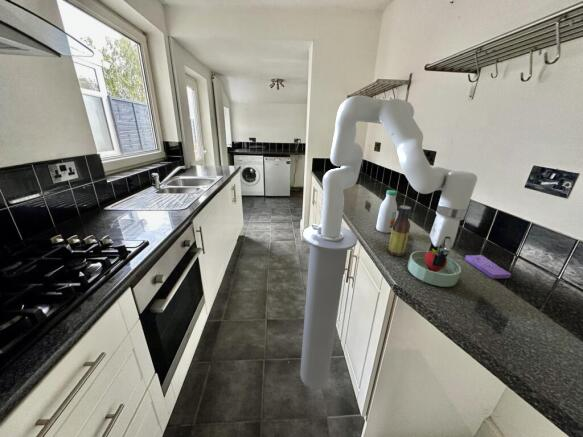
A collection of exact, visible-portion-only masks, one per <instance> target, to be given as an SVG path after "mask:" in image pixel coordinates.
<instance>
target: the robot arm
mask: <svg viewBox="0 0 583 437" xmlns="http://www.w3.org/2000/svg"><path fill="white" fill-rule="evenodd" d="M414 115H415V109H414V106H413V104H412V103H411V102H409V101H407V100H404V99H401V98H390V99H381V98H376V97H371V96H367V95H352V96H350V97H348V98H346V99H345V100H344V101H343V102H342V103H341V104H340V106H339V108H338V110H337V113H336V118H335V126H334V133H333V137H332V138H333V139H332V144H331V149H330V157H329V158H330V159H329V160H330V162H331V164H332V165H333V166H336V167H338V168H333V169H330V170H328V171H326V172H325V173H324V175H323V177H322V193H323V195H322V207H321V216H320V218H321V220H320V224H316V223H312V224H311V226H312V228H313V229H314V230H318V231H317V236H318V237H319V238H321V239H323V240H326V241H339V240H341V239H342V238H343V233H342V232H341V227H342V224H343V215H344V208H345V194H344V190H346V189H350V188H352V187H354V186H355V185H356V183H357V182H358V179H359V175H360V171H361V166H362V164H363V158H364V152H363V148H362V146H361V145H360V144H359V143H357V142H355V141H356V137H357V122H361V123H373V124H378V125H382V126H383V127H384V131H386V133H387V134H388V136H389V138H390V140H391V142H392V143H393V145H394V147H395V149H396V151H397V158H398V161H399V165H400V168H401V170H402V172H403V174H404V176H405V178H406V179H407V181H408V183H409V185H410V186H411V187H412V189H414V191H416V192H417V193H419V194H422V195H427V194H431V193H433V192H434V193H435V191H441V194H440V198H439V201H438V204H437V207H436V211H435V214H436V216H435V218H434V220H433V221H434V222H433V225H432V227H431V230H430V233H429V238H430V241H431V242H430V246H429V249H428V251H433V250H432V249H434V250H436V251H437V254H435V256H434V259H433V263H432V265H434V266H438V267H444V264H445V261H446V258H447V257H449V253H450V251H451V249H452V248H453V246H454V243H455V242H456V237H457V234H458V230H459V227H460V222H461V221H464V219H465V216H466V213H467V212H468V211H467V210H468V207H469V205H470V202H471V198H472V196H473V193H474V190H475V187H476V185H477V181H478V176H477V174H475V173H473V172H470V171H464V170H451V169H448V168H445V167H440V166H431V164H430V162H429V160H428V159H427V156H426V154H425V152H424V148H423V142H424V134H423V131H422V130H421V128H420V127H419V125H418V123H417V122H416V120H415V119H414ZM339 167H340V168H339Z"/></svg>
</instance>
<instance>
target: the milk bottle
mask: <svg viewBox="0 0 583 437" xmlns="http://www.w3.org/2000/svg"><path fill="white" fill-rule="evenodd" d="M397 195H398V191H396V190H393V189H387V190H386V194H385V198H384V200H383V201H382V202H381V204H380V207H379V210H378V216H377V221H376V227H375V228H376V229H375V230H376V231H379V232H380V233H385V234H391V232H392V226H393V224H394V223H395V221H396V218H397V217H396V216H397V211H398V204H397V201H396V197H397Z"/></svg>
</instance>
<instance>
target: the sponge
mask: <svg viewBox="0 0 583 437" xmlns="http://www.w3.org/2000/svg"><path fill="white" fill-rule="evenodd" d="M464 260H465V261H466V262H468V263H469V264H471V265H472V266H474V268H477V269H478V270H479V271H481V272H482V273H484V274H485V275H486V276H488V277H489V278H491V279H510V278H511V276H512V273H510V272H509V271H507V270H505V269H504V268H502V267H500V266H499V265H497V264H496V263H495V262H493V261H492V260H490V259H488V258H487V257H486V256H484V255H482V254H476V255H469V254H468V255H465V257H464Z"/></svg>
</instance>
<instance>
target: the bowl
mask: <svg viewBox="0 0 583 437" xmlns="http://www.w3.org/2000/svg"><path fill="white" fill-rule="evenodd" d="M427 252H429V250H416V251H413V252H411V253H410V255H409V258H408V262H407V270H408V271H409V272H410V274H411V275H412V276H413V277H415V278H417V279H418V280H420V281H422V282H424V283H426V284H429V285H433V286H437V287H443V288H449V287H454V286H455V285H456V284H457V283H458V281H459V278H460V276H461V273H462V267H461V265H460V264H459V263H458V262H457V261H455V260H454V259H452V258H450V257H449V256H447V258H446V260H447V264H446V266H445V267H444V268H443V269H441V270H439V271H437V272H433V271H430V270H429V269H428V267H427V265H426V262H425V255H426V253H427Z"/></svg>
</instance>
